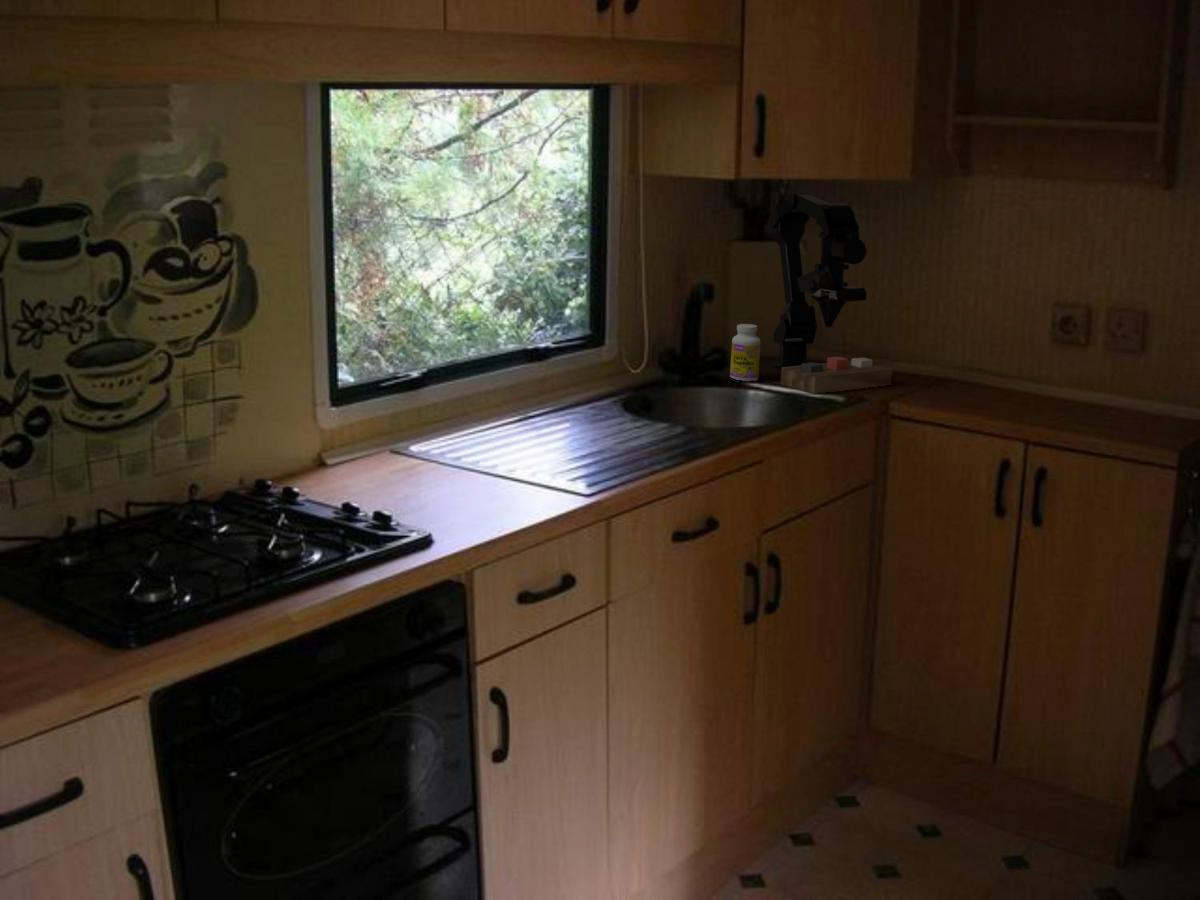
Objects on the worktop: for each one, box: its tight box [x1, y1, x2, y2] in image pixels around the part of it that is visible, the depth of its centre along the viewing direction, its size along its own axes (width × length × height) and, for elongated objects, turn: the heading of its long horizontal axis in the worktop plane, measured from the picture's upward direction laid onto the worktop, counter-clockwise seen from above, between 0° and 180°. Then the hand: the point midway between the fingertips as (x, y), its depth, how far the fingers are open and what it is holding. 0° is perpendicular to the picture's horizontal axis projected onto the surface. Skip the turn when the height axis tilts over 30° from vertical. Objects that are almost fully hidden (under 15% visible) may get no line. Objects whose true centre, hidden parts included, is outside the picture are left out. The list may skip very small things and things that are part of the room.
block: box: [780, 359, 893, 395], centre depth 316 cm, size 12×23×4 cm, turn 121°
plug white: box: [851, 357, 873, 368], centre depth 319 cm, size 3×3×5 cm
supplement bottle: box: [729, 323, 761, 382], centre depth 318 cm, size 7×7×13 cm
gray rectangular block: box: [801, 362, 823, 373], centre depth 312 cm, size 3×3×5 cm
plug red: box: [826, 356, 849, 370], centre depth 315 cm, size 3×3×5 cm
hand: (828, 326), depth 316 cm, fingers closed
